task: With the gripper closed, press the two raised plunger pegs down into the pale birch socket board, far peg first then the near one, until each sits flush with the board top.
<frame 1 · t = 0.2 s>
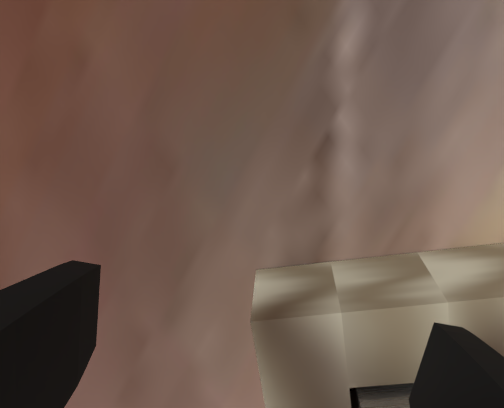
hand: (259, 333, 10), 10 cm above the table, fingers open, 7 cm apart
socket board: (472, 348, 21), on the table
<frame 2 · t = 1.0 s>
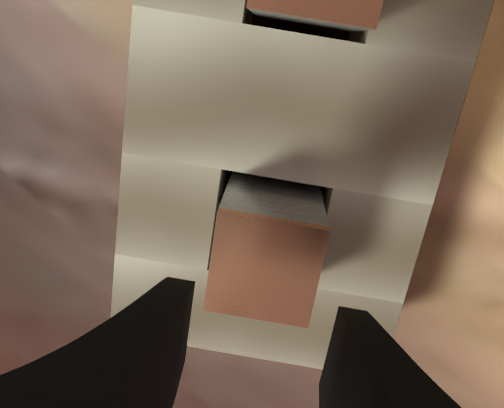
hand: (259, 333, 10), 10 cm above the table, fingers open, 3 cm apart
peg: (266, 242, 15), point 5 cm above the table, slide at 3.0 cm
socket board: (288, 95, 18), on the table
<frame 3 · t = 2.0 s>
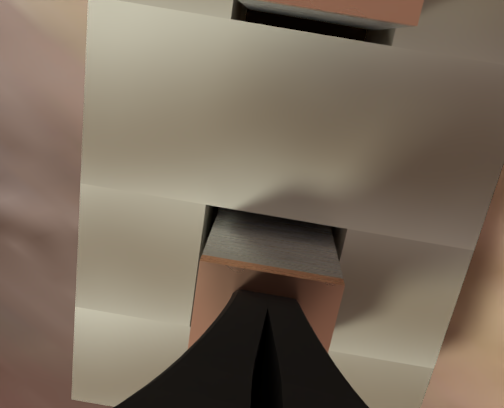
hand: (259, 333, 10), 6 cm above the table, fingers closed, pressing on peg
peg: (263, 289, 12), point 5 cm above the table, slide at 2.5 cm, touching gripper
socket board: (290, 107, 15), on the table
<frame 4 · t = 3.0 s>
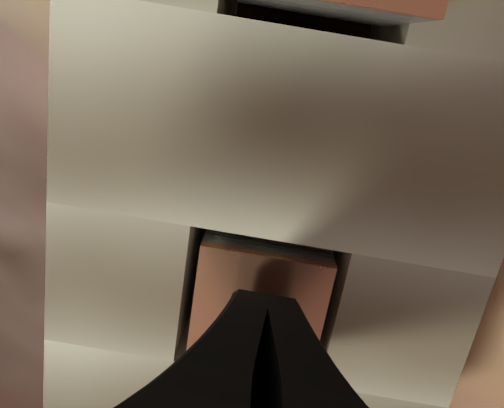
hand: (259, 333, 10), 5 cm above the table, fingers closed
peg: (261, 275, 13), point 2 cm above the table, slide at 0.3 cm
socket board: (287, 113, 14), on the table
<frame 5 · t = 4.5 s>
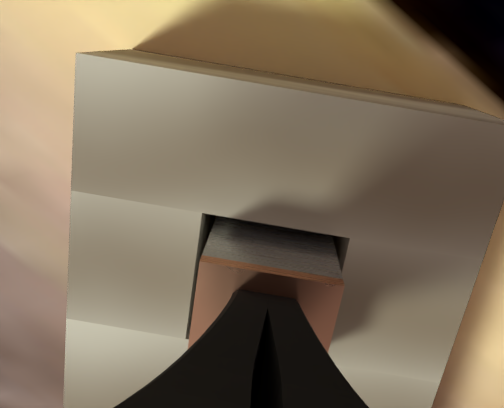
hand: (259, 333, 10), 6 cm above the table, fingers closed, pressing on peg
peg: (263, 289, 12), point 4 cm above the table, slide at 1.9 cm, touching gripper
socket board: (249, 333, 17), on the table
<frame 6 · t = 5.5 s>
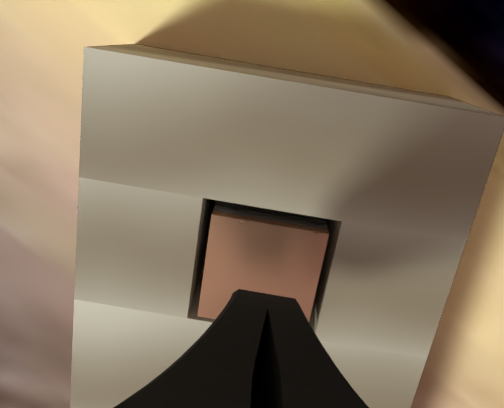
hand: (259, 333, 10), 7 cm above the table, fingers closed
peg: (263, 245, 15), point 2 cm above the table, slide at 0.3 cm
socket board: (247, 317, 18), on the table
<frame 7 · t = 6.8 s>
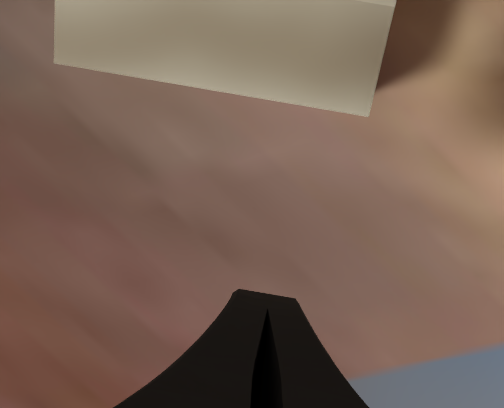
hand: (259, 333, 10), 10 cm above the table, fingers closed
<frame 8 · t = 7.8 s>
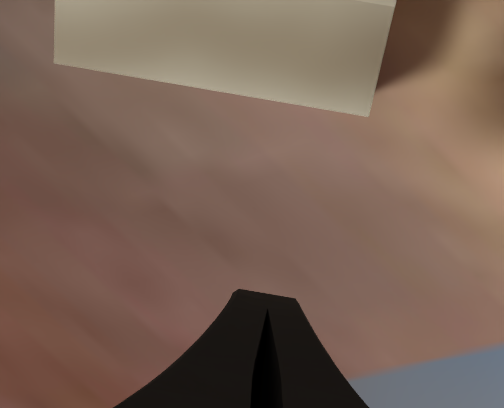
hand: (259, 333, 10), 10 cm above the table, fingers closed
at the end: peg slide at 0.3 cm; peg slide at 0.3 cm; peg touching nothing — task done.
